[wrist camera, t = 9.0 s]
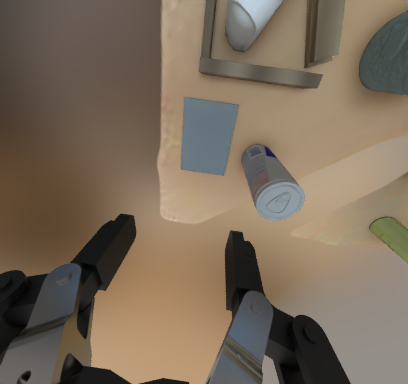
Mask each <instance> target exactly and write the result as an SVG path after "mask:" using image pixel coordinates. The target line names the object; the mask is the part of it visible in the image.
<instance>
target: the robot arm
mask: <svg viewBox="0 0 408 384" xmlns="http://www.w3.org/2000/svg"><path fill="white" fill-rule="evenodd" d="M135 237H136V227H135V219H134V216H133V215H128V214H120V215H119V216H118V217H117V218H116V219H115V221H112V220H111V221H109V222H107V223H106V224H104V225H103V226H102V227H101V228H100V229H99V230H98V231H97V233H96V234H95V235H94V236H93V237H92V239H91V240H90V241H89V242H88V243H87V244H86V245H85V246H84V248H83V249H82V250H81V251H80V252H79V253H78V255H77V256H76V257H75V258H74V259H73V260H72V261H71V262H70V263H68V264H64V265H61V266H59V267H57V268H56V269H54V270H53V271H51V273H49V274H42V275H35V276H29V277H26V275H25V274H24V273H23V272H22V271H19V270H14V271H8V272H5V273H2V274H0V365H1V366H0V384H131V383H129V382H128V381H126V380H125V379H123V378H122V377H120V376H118V375H117V374H115V373H114V372H112V371H111V370H108V369H100V368H95V367H91V357H92V354H91V345H90V337H91V328H92V320H93V310H94V302H95V297H94V296H95V294H96V293H97V291H98V290H104V291H106V289H107V288H108V286H109V284H110V282H111V281H112V279H113V277H114V275H115V274H116V272H117V270H118V268H119V267H120V265H121V263H122V261H123V260H124V258H125V256H126V254H127V252H128V251H129V249H130V247H131V245H132V244H133V242H134V239H135ZM225 276H226V309H227V310H230V311H232V321H231V324H230V326H229V328H228V331H227V333H226V335H225V338H224V340H223V343H222V345H221V348H220V350H219V352H218V355H217V358H216V360H215V362H214V364H213V367H212V369H211V371H210V373H209V376H208V378H207V380H206V383H205V384H262V380H263V374H262V362H263V358H264V355H266V356H268V357H269V358H271V359H273V361H274V365H275V369H276V372H277V376H278V380H279V384H351V383H350V382H349V379H348V378H347V376H346V374H345V372H344V370H343V368H342V366H341V364H340V362H339V360H338V358H337V356H336V354H335V352H334V350H333V348H332V346H331V344H330V342H329V340H328V338H327V336H326V334H325V333H324V331H323V329H322V328H321V327H320V326H319V325H318V323H317V322H316V321H314V320H313V319H312V318H310V317H308V316H305V315H298V316H296V317H295V318H294V317H292V316H290V315H288V314H286V313H284V312H282V311H280V310H278V309H277V308H275V307H274V306H273V305H272V304H271V303H270V301H269V300H268V299H267V298H266V296H265V294H264V291H263V287H262V282H261V277H260V272H259V268H258V265H257V259H256V254H255V249H254V247H253V246H252V244H251V243H250V242H249V241H244V237H243V233H242V232H238V231H232V230H231V231H230V233H229V237H228V240H227V244H226V248H225ZM140 384H189V382H184V381H178V380H172V379H165V378H162V379H158V380H153V381H149V382H145V383H140Z"/></svg>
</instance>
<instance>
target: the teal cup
mask: <svg viewBox="0 0 408 384" xmlns="http://www.w3.org/2000/svg"><path fill="white" fill-rule="evenodd" d="M359 76H360V80H361V82H362V83H363V85H364V86H365V87H367V88H368V89H370V90H374V91H381V92H389V93H395V94H406V95H408V11H406V12H404V13H402V14H400V15H399V16H397V17H395V18H394V19H392V20H391V21H390V22H388V23H387V24H386V25H385V26H384V27H382V28H381V29H380V30H379V31H378V32H377V34H376V35H375V36H374V37H373V38H372V40H371V41H370V42H369V44H368V46H367V47H366V49H365V51H364V53H363V56H362V58H361V62H360V67H359Z"/></svg>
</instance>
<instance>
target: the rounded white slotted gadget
mask: <svg viewBox="0 0 408 384" xmlns="http://www.w3.org/2000/svg"><path fill="white" fill-rule="evenodd" d="M282 1H283V0H229V1H228V8H227V17H226V27H225V33H226V34H227V36H228V41H229V43H230V45H231V46H232V48H234V49H235V50H238V51H241V50H242V51H243V52H245V51H246V50H247V49H248V48H249V47H250V46H251V44H252V43H253V42H254V41H255V39H256V38H257V37H258V35H259V34H260V32H261V31H262V30H263V28H264V27H265V25H266V24H267V22H268V21H269V20H270V18H271V17H272V15H273V14H274V13H275V11H276V9H277V8H278V7H279V5H280V4H281V3H282Z"/></svg>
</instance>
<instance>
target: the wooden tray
mask: <svg viewBox="0 0 408 384" xmlns="http://www.w3.org/2000/svg"><path fill="white" fill-rule="evenodd" d="M216 1H217V0H206V9H205V20H204V32H203V43H202V55H201V57H200V68H199V72H200V73H202V74H206V75H213V76H220V77H227V78H234V79H241V80H248V81H255V82H262V83H269V84H276V85H284V86H291V87H298V88H318V86H319V83H320V81H321V78H322V76H323V75H322V74H315V73H308V72H301V71H294V70H287V69H280V68H273V67H266V66H259V65H251V64H244V63H237V62H230V61H223V60H216V59H210V56H211V47H212V37H213V28H214V19H215V10H216Z"/></svg>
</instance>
